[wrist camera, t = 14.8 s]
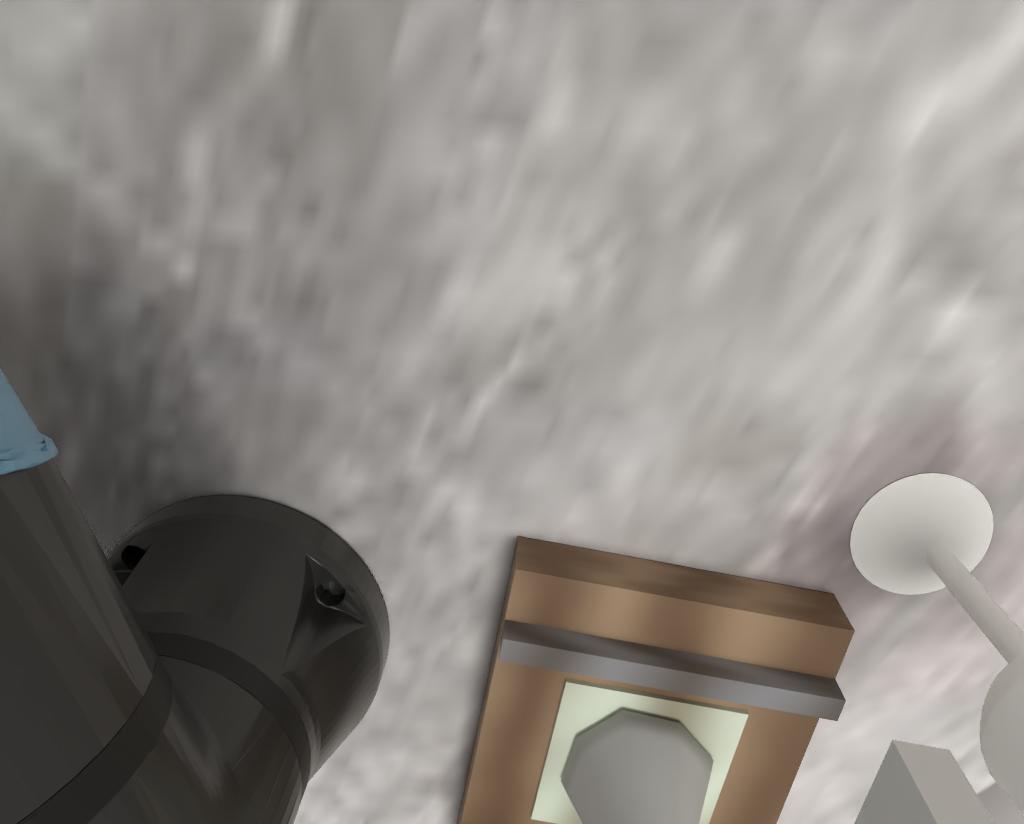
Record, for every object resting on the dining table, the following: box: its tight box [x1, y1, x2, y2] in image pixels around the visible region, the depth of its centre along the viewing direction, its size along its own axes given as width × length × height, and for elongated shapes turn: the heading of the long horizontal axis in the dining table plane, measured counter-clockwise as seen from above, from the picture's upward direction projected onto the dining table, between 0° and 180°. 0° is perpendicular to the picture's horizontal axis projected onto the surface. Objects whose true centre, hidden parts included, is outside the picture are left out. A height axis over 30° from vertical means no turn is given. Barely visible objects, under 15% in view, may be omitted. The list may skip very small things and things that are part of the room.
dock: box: [457, 536, 854, 824], centre depth 42 cm, size 16×20×4 cm
